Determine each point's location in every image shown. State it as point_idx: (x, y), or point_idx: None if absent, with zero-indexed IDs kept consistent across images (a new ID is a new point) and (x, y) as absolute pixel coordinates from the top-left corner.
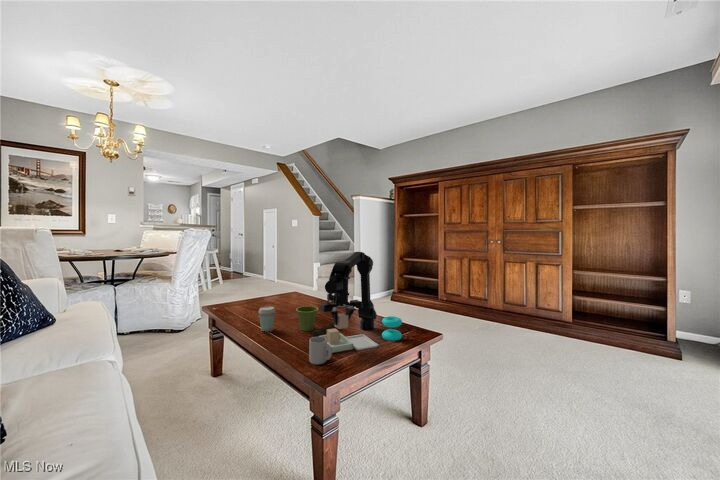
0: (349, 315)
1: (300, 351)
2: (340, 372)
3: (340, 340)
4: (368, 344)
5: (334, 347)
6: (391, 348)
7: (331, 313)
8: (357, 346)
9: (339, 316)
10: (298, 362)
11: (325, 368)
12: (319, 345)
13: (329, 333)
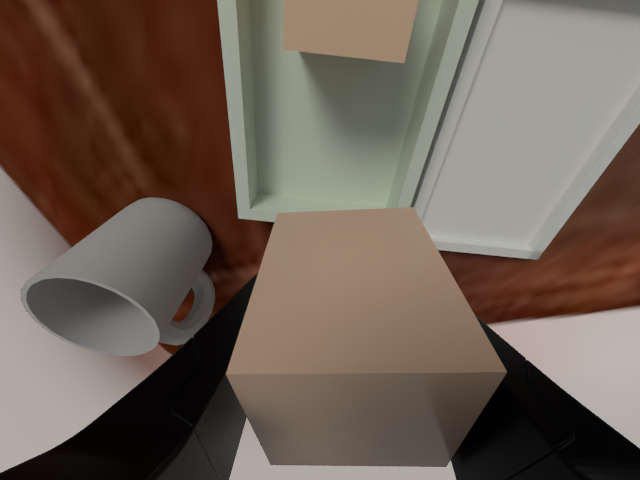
0: (462, 464)
1: (48, 46)
2: None
3: (427, 8)
4: (520, 205)
5: (268, 218)
6: (560, 283)
7: (93, 441)
8: (441, 198)
9: (271, 459)
10: (68, 204)
11: (194, 296)
12: (117, 339)
13: (286, 27)
